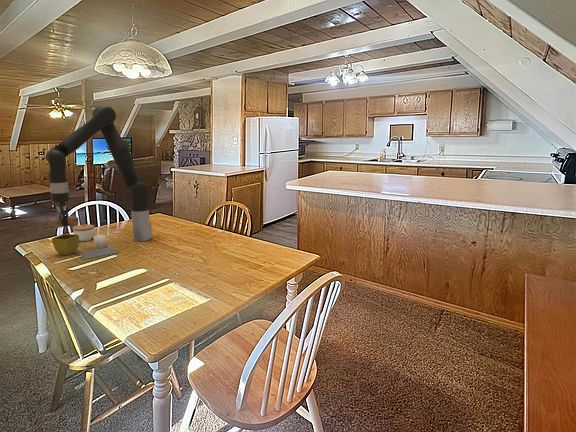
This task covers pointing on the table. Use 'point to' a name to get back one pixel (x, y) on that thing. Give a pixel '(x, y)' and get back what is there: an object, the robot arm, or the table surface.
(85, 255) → the mat
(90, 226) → the lidded jar
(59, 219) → the lid
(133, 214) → the robot arm
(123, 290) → the table surface
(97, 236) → the cream rounded block
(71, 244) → the flower pot
